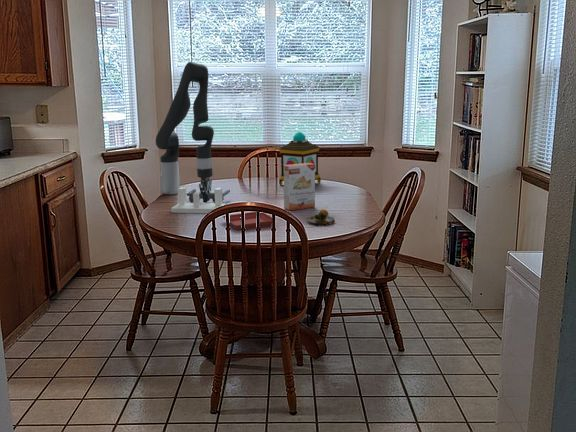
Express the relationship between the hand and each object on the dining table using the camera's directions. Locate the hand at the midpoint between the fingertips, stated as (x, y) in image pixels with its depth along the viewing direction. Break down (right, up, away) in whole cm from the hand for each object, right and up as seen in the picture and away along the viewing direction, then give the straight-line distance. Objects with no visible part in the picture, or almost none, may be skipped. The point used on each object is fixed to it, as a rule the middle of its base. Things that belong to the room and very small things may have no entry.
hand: (206, 201), depth 293 cm
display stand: (-2, -5, -15) cm, 16 cm away
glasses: (+1, 0, +4) cm, 4 cm away
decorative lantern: (+47, +11, +44) cm, 66 cm away
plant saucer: (+24, -11, -42) cm, 50 cm away
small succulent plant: (+55, -11, -42) cm, 69 cm away
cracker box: (+46, -4, -15) cm, 49 cm away
